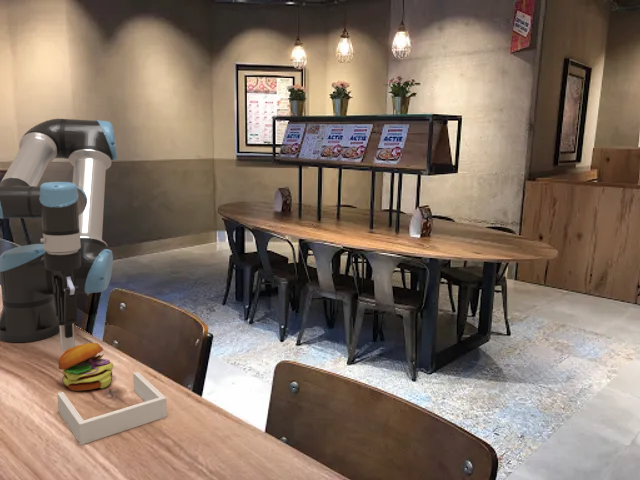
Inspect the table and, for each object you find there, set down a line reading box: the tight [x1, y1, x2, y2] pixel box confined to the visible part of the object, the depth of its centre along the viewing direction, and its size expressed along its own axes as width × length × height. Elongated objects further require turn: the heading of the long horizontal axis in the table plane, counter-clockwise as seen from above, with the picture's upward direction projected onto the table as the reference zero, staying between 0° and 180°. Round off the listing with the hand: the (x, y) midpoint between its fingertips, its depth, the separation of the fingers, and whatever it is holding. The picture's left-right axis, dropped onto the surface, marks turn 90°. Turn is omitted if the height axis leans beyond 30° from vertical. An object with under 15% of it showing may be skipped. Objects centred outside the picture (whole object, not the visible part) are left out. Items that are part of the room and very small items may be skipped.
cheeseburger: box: [58, 342, 114, 392], centre depth 116 cm, size 10×11×10 cm
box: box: [57, 371, 167, 446], centre depth 104 cm, size 14×16×4 cm
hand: (68, 348), depth 125 cm, fingers closed
